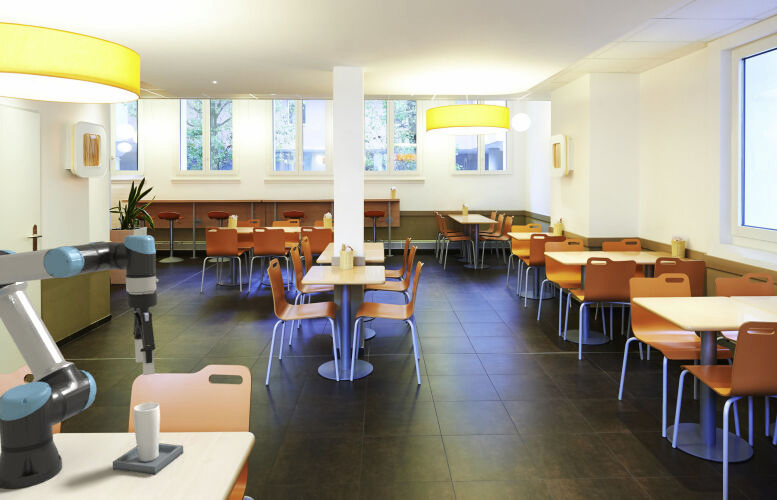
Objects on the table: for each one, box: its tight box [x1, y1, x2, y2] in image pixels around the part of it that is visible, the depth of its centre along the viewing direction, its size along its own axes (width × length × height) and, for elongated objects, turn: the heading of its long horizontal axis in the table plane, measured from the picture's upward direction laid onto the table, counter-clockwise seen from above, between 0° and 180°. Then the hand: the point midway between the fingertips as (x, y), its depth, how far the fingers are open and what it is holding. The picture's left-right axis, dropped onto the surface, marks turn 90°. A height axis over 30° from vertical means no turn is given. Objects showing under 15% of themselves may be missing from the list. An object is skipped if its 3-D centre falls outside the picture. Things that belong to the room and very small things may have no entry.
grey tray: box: [112, 442, 184, 475], centre depth 154 cm, size 13×13×2 cm
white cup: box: [132, 401, 161, 462], centre depth 154 cm, size 7×7×15 cm
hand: (144, 367), depth 152 cm, fingers open, 13 cm apart
